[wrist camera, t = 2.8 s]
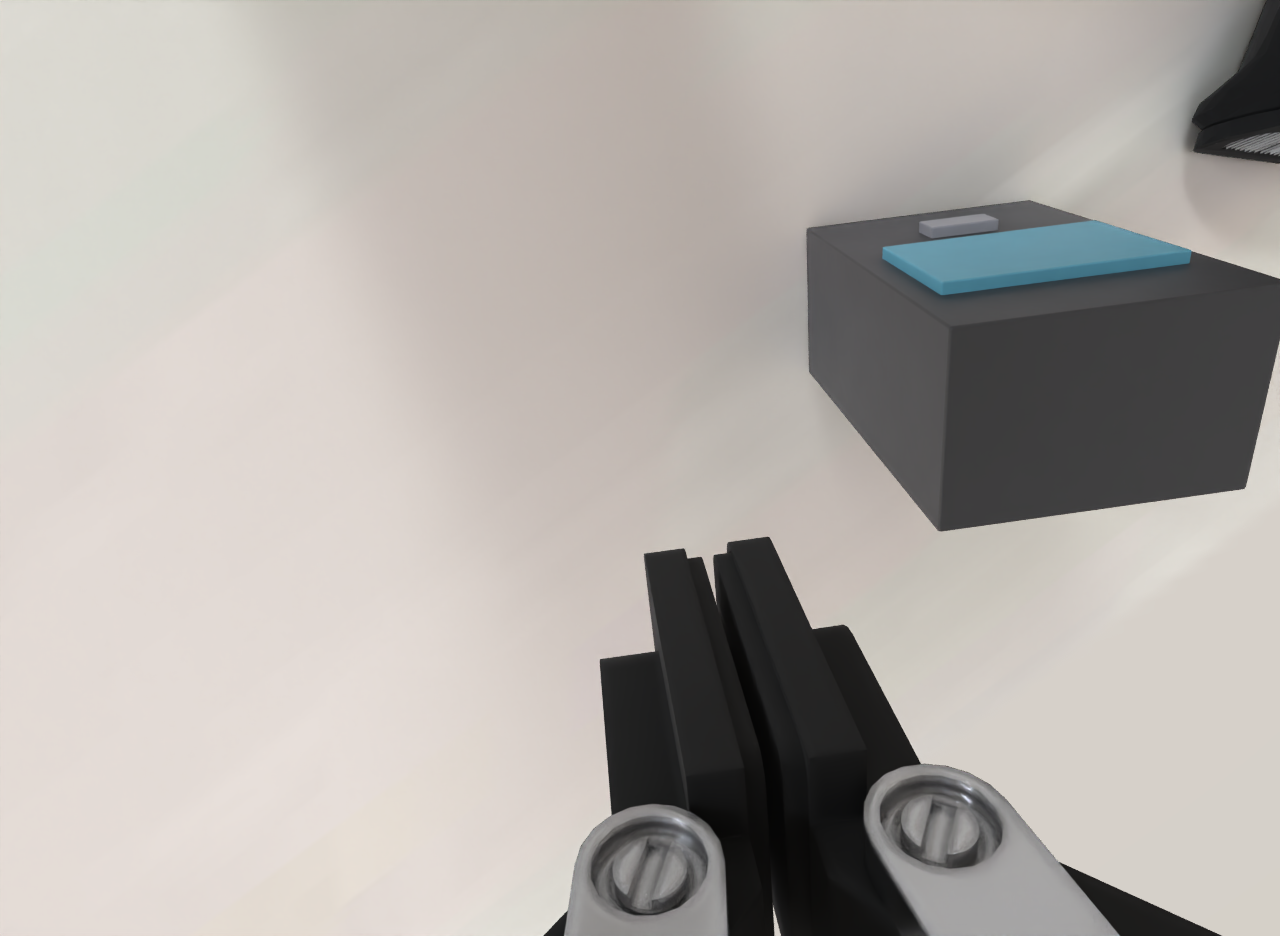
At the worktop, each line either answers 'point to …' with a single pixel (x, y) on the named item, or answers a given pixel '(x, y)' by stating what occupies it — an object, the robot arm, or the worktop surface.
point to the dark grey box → (1039, 359)
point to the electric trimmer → (1247, 100)
